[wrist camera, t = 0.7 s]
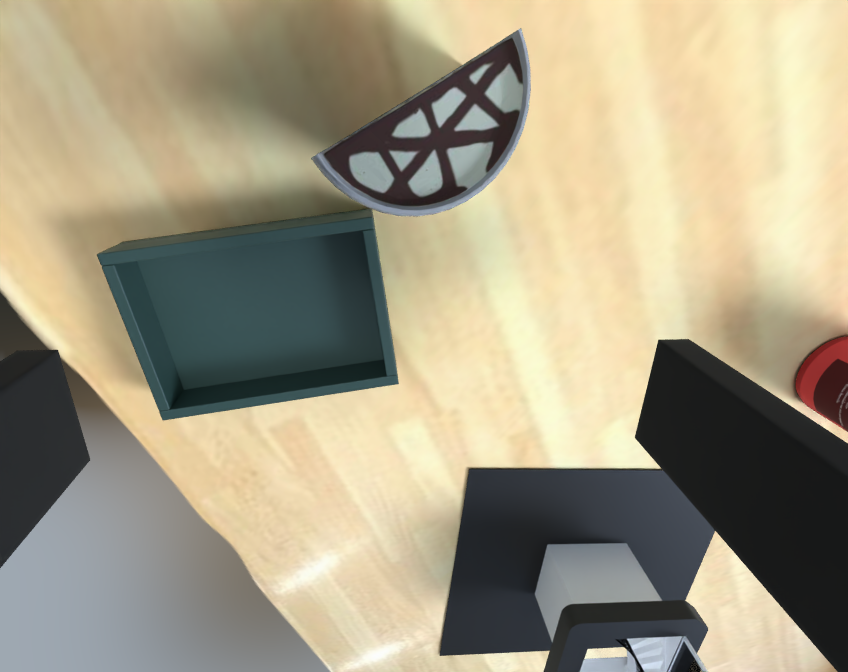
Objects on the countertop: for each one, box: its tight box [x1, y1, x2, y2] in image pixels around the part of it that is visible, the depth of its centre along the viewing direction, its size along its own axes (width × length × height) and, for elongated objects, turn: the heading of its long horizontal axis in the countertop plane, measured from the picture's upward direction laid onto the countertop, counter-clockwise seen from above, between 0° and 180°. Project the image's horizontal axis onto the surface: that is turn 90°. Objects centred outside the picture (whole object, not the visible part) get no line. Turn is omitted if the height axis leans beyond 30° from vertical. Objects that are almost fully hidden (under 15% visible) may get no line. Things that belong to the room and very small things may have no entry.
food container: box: [311, 28, 531, 216], centre depth 29 cm, size 12×6×10 cm, turn 119°
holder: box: [97, 209, 398, 420], centre depth 35 cm, size 13×18×4 cm
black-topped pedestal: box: [440, 469, 715, 672], centre depth 46 cm, size 28×26×13 cm
